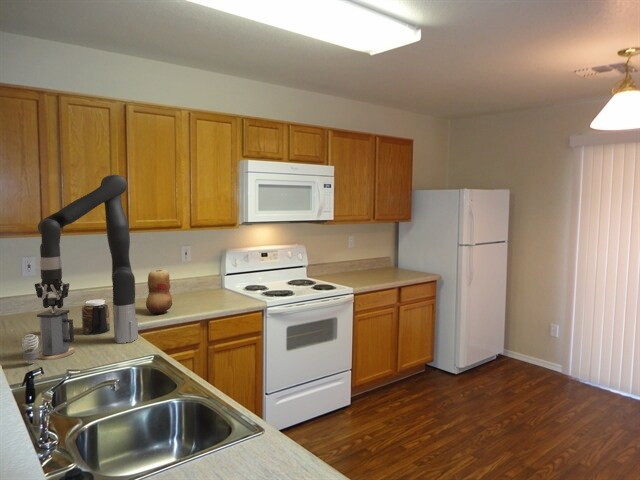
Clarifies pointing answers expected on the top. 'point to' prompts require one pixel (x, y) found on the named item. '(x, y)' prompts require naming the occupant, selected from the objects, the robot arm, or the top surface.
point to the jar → (95, 317)
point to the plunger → (52, 303)
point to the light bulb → (30, 353)
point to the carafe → (55, 332)
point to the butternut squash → (158, 291)
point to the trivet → (42, 357)
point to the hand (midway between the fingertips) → (53, 307)
